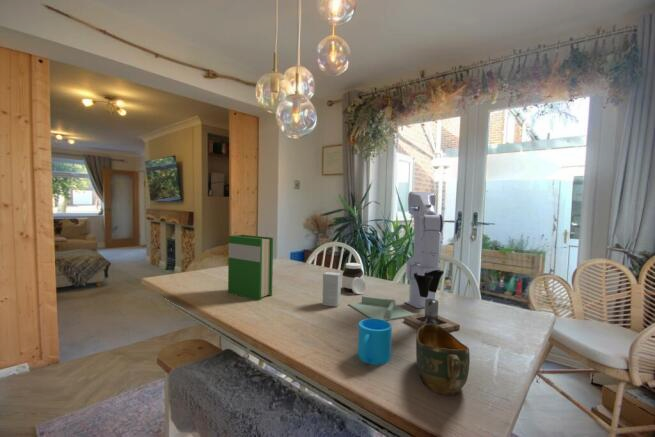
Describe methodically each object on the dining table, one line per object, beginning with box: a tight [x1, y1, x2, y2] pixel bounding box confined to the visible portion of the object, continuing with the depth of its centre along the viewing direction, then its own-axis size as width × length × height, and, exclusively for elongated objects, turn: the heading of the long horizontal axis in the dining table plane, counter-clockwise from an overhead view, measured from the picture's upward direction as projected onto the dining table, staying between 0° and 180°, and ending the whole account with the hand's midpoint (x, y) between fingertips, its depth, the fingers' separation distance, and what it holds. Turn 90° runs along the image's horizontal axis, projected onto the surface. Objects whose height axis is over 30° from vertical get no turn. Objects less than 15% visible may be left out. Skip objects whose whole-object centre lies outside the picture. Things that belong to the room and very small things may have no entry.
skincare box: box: [322, 271, 342, 308], centre depth 116 cm, size 6×4×12 cm
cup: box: [415, 324, 471, 396], centre depth 67 cm, size 13×20×10 cm, turn 146°
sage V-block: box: [348, 295, 416, 322], centre depth 111 cm, size 16×19×3 cm
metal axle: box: [423, 298, 439, 325], centre depth 98 cm, size 4×4×8 cm
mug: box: [357, 318, 393, 366], centre depth 75 cm, size 12×8×8 cm
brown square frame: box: [403, 312, 461, 333], centre depth 98 cm, size 12×12×2 cm
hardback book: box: [227, 234, 274, 301], centre depth 126 cm, size 18×7×24 cm, turn 60°
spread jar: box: [341, 262, 367, 295], centre depth 135 cm, size 12×11×12 cm
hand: (428, 294), depth 98 cm, fingers open, 7 cm apart
